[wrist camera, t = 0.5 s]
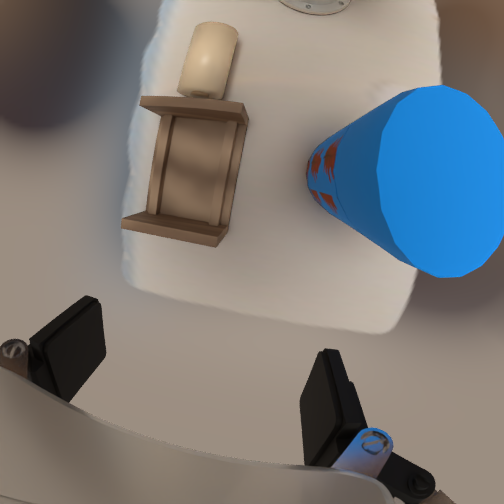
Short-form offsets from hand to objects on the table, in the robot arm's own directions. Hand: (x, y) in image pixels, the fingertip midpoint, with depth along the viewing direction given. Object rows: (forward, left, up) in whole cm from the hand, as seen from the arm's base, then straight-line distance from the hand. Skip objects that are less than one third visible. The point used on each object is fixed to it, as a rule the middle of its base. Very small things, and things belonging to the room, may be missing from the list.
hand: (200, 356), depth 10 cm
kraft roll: (-22, -10, -28) cm, 37 cm away
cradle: (-7, -9, -28) cm, 30 cm away
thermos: (-10, +11, -28) cm, 32 cm away
